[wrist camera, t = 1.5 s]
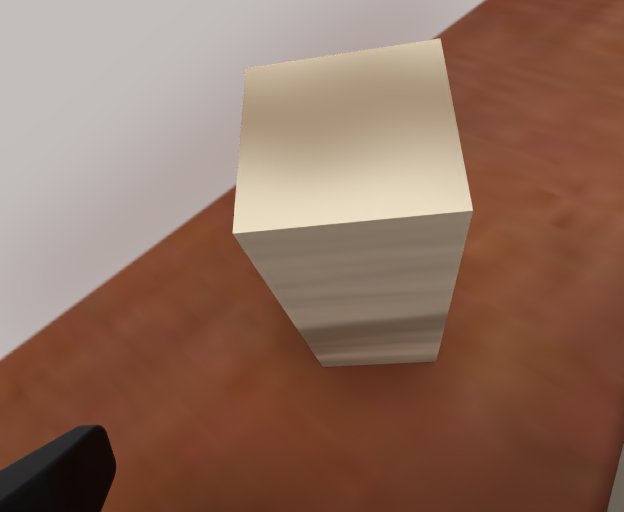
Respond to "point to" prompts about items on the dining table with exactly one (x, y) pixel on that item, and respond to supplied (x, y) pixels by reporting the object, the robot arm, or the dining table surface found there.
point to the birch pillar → (355, 199)
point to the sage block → (618, 488)
